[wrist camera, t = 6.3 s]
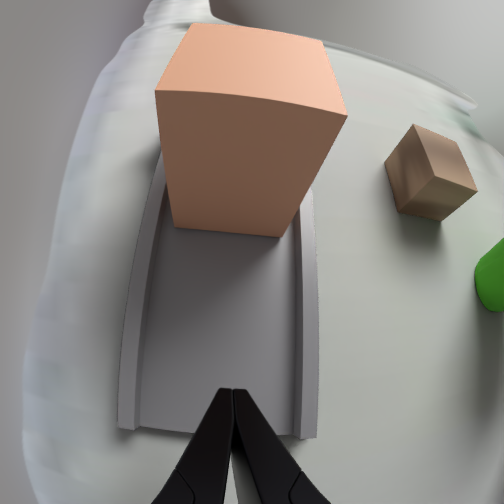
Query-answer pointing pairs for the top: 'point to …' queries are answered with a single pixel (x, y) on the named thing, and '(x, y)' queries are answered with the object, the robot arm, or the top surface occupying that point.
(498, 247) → the cup
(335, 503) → the top surface
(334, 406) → the top surface
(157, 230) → the track
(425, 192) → the walnut block
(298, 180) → the terracotta block
